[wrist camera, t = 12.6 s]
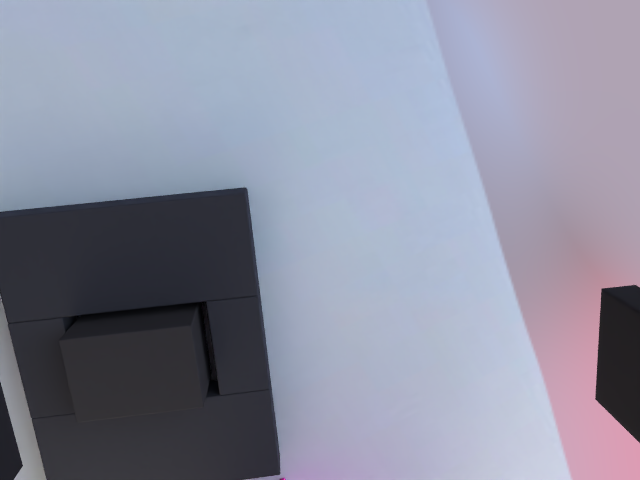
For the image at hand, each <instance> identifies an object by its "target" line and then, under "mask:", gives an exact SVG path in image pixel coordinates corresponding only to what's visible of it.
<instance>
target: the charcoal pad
mask: <svg viewBox="0 0 640 480" xmlns="http://www.w3.org/2000/svg"><path fill="white" fill-rule="evenodd" d="M0 293H1V297H2V301H3V305H4V309H5V313H6V317H7V321H8V327H9V331H10V335H11V339H12V343H13V347H14V351H15V355H16V359H17V363H18V367H19V371H20V375H21V379H22V383H23V387H24V391H25V395H26V399H27V403H28V407H29V411H30V415H31V418H32V422H33V426H34V430H35V434H36V438H37V442H38V446H39V450H40V454H41V459H42V463H43V467H44V471H45V475H46V479H47V480H243V479H251V478H259V477H266V476H274V475H280V453H279V445H278V437H277V428H276V420H275V412H274V404H273V396H272V387H271V379H270V371H269V363H268V355H267V347H266V338H265V330H264V322H263V314H262V306H261V298H260V289H259V281H258V273H257V265H256V257H255V248H254V240H253V232H252V224H251V216H250V207H249V199H248V191H247V188H236V189H226V190H216V191H206V192H196V193H186V194H176V195H166V196H156V197H146V198H136V199H126V200H116V201H105V202H95V203H85V204H75V205H65V206H55V207H45V208H35V209H25V210H15V211H5V212H0ZM204 301H206V306H207V313H208V320H209V326H210V333H211V340H212V346H213V353H214V360H215V367H216V373H217V381H210V382H209V386H208V391H207V395H206V399H205V404H204V407H202V408H194V409H186V410H177V411H169V412H161V413H153V414H144V415H136V416H128V417H119V418H111V419H103V420H95V421H86V422H77V420H76V416H75V411H74V407H73V402H72V398H71V393H70V389H69V384H68V380H67V375H66V371H65V367H64V362H63V358H62V353H61V349H60V344H59V339H60V338H61V337H62V336H63V335H64V334H65V333H66V331H67V330H68V329H69V328H70V327H71V326H72V325H73V324H74V322H75V321H76V320H77V316H78V315H87V314H96V313H105V312H114V311H123V310H132V309H141V308H150V307H159V306H168V305H177V304H186V303H195V302H204Z"/></svg>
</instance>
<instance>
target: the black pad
mask: <svg viewBox="0 0 640 480" xmlns="http://www.w3.org/2000/svg"><path fill="white" fill-rule="evenodd" d="M59 344H60V349H61V353H62V358H63V362H64V367H65V371H66V375H67V380H68V384H69V389H70V393H71V398H72V402H73V407H74V411H75V416H76V420H77V422H86V421H95V420H103V419H111V418H119V417H128V416H136V415H144V414H153V413H161V412H169V411H177V410H186V409H194V408H202V407H204V404H205V399H206V395H207V391H208V386H209V382H210V377H211V367H210V360H209V353H208V347H207V340H206V333H205V327H204V320H203V313H202V307H201V302H195V303H186V304H177V305H168V306H159V307H150V308H141V309H132V310H123V311H114V312H105V313H96V314H87V315H81V316H80V317H79V318H78V319H77V320H76V321H75V322H74V324H73V325H72V326H71V327H70V328H69V329H68V330H67V331H66V333H65V334H64V335H63V336H62V337H61V338H60V339H59Z"/></svg>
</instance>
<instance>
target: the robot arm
mask: <svg viewBox="0 0 640 480" xmlns="http://www.w3.org/2000/svg"><path fill="white" fill-rule="evenodd" d="M595 399H596V400H597V401H598V402H599V403H600V404H601V405H602V406H603V407H604V408H605V409H606V410H607V411H608V412H609V413H610V414H611V415H612V416H613V417H614V418H615V419H616V420H617V421H618V422H619V423H620V424H621V425H622V426H623V427H624V428H625V429H626V430H627V431H629V433H630V434H631V435H632V436H633V437H634V438H635V439H636V440H637V441H638V442H640V287H638V286H636V285H632V286H622V287H613V288H604V289H602V292H601V311H600V327H599V345H598V363H597V381H596V398H595ZM22 466H23V465H22V461H21V457H20V453H19V450H18V446H17V442H16V439H15V435H14V431H13V427H12V424H11V420H10V416H9V413H8V409H7V405H6V402H5V398H4V394H3V390H2V387H1V383H0V480H13V479H14V478H15V477H16V475H17V474H18V472H19V471H20V469H21V468H22Z"/></svg>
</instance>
